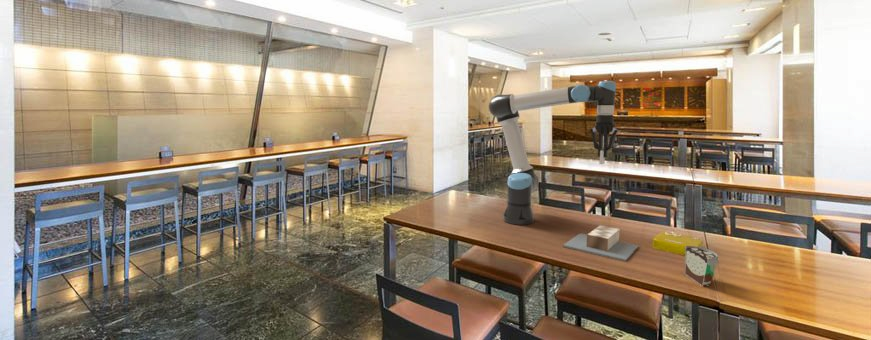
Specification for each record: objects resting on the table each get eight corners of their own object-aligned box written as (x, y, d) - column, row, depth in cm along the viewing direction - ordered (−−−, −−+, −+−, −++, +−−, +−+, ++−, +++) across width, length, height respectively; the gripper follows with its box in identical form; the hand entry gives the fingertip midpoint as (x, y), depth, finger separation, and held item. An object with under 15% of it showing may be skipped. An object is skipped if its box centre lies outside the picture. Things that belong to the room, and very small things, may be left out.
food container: (725, 289, 124) (729, 259, 122) (705, 288, 124) (709, 259, 122) (700, 272, 136) (703, 245, 134) (682, 272, 136) (685, 245, 134)
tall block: (599, 236, 171) (586, 246, 159) (600, 225, 170) (587, 234, 158) (618, 240, 166) (606, 251, 154) (619, 229, 165) (607, 238, 153)
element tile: (650, 248, 159) (651, 237, 158) (662, 239, 170) (663, 229, 169) (693, 258, 149) (694, 246, 148) (702, 248, 159) (704, 237, 158)
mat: (563, 246, 161) (563, 244, 160) (579, 235, 175) (580, 233, 175) (625, 261, 145) (625, 259, 145) (638, 247, 160) (638, 245, 159)
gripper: (622, 114, 183) (618, 164, 187) (593, 114, 192) (590, 161, 195) (617, 114, 178) (613, 166, 181) (588, 114, 186) (585, 163, 190)
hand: (601, 163), depth 188 cm, fingers closed
